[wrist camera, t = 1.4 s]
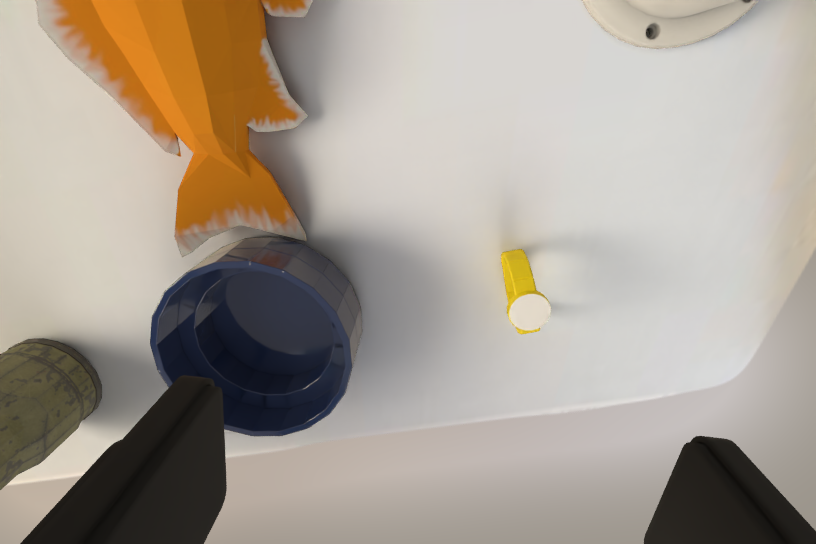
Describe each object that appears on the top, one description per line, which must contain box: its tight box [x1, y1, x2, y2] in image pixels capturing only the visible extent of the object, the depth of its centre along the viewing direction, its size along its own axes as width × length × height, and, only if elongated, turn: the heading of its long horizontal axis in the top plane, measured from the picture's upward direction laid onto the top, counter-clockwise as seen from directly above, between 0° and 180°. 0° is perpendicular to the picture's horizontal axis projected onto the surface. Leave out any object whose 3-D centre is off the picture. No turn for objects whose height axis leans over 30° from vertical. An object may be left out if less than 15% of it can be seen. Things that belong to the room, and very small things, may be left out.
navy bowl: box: [150, 237, 362, 436], centre depth 33 cm, size 14×14×6 cm
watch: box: [501, 249, 551, 334], centre depth 31 cm, size 6×3×6 cm, turn 13°
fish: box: [35, 0, 313, 257], centre depth 26 cm, size 7×27×15 cm
